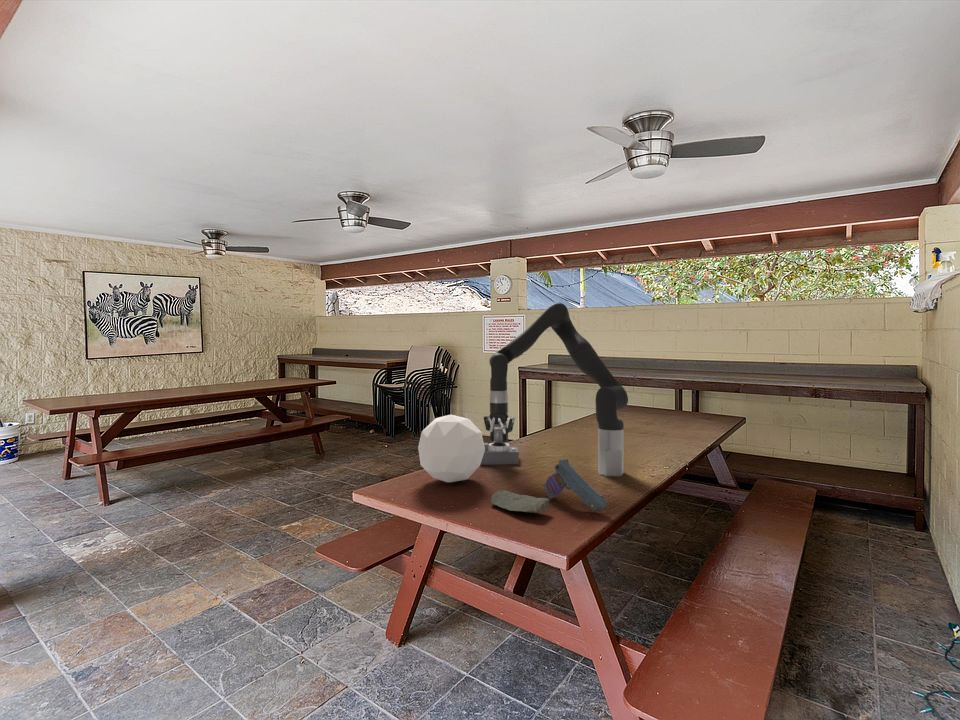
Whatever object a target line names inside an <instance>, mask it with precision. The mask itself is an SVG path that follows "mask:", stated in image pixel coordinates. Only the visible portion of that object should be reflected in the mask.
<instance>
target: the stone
mask: <svg viewBox="0 0 960 720" xmlns="http://www.w3.org/2000/svg"><path fill="white" fill-rule="evenodd" d="M490 503H491V504H493V505H494V506H497V507H499V508H502V509H503V510H507V511H513V512H523V513H524V512H525V513H534V514H540V513H542V512H547V510H548V507H549V505H550V504H549V503H550V498H546V497H535V496H532V495H531V496H530V495H526V494H520V493H515V492H511V491H509V490H504V489H502V490H501V489H499V490H498V491H495V492H494V493H493V494H492V495H491V500H490Z"/></svg>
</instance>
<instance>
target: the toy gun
mask: <svg viewBox="0 0 960 720" xmlns="http://www.w3.org/2000/svg"><path fill="white" fill-rule="evenodd" d="M554 469H555V472H554V473H552V474H551V475H549V476H548V477H547V479H546V480H545V483H542V487H543V489H544V490H545V492H546V494H547V496H548V499H549V500H552V499H555V498H556V496H558V495H560V493H562V491H564V489H566V490H568V491H569V490H571V491H572V492H574V493H576V496H577V497H579V499H580V500H581V501H583V503H584V504H585V505H586V506H587V507H589V508H590V509H591V510H592V511H593V512H594V511H596V510H597V511H598V512H600V511H601V510H605V509H607V507H608V506H607V505H606V504H607V503H608V501H607V500H606V498H605V497H604V496H605V494H600V492H598V491H597V490H595V488H593V487H592V486H591V484H589V482H588V481H587V480H585V478H584V477H582V475H580V474H579V473H578V472H577V471H576V470H575V468H574V467H573V466H572V465H571V464H570V462H569V459H568V458H565V459H564V458H563V459H562V458H561V459H559V460H558V463H556V465H554Z"/></svg>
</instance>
